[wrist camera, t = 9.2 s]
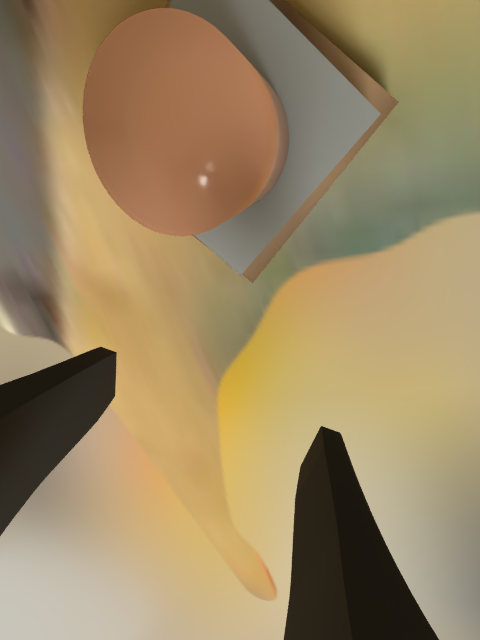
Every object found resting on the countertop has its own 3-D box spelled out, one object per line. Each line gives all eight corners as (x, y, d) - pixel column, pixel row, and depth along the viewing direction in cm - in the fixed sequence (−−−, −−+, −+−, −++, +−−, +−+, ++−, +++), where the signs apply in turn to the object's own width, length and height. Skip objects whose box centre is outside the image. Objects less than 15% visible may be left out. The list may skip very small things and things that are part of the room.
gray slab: (372, 121, 13) (381, 113, 11) (251, 260, 17) (240, 275, 15) (224, -27, 12) (202, -68, 10) (133, 156, 16) (103, 156, 14)
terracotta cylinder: (317, 119, 11) (306, 97, 7) (243, 233, 14) (202, 269, 10) (203, 30, 11) (118, -50, 7) (149, 164, 14) (63, 169, 9)
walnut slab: (388, 110, 15) (398, 101, 12) (261, 269, 20) (252, 283, 17) (218, -40, 14) (197, -77, 12) (130, 166, 19) (104, 166, 17)
